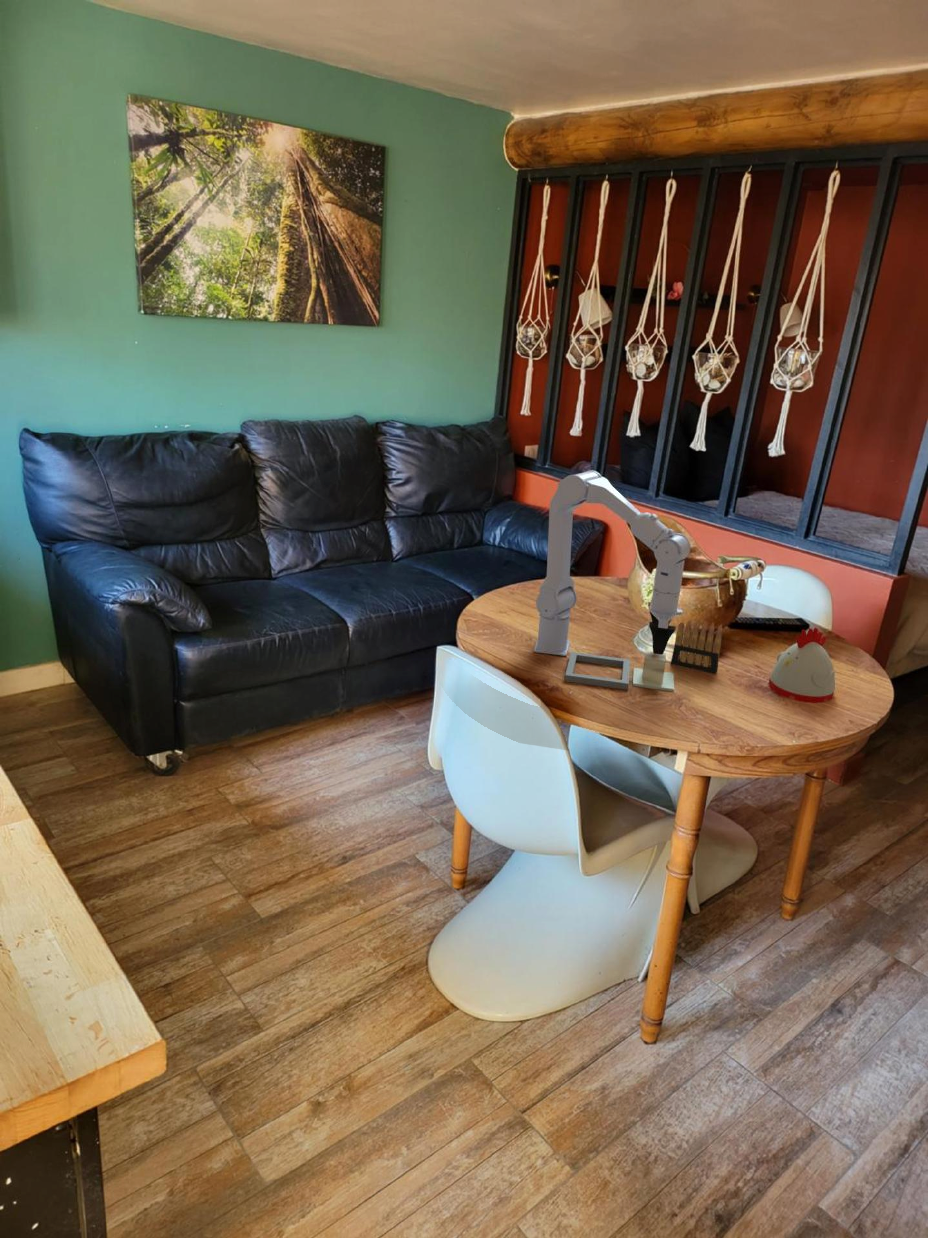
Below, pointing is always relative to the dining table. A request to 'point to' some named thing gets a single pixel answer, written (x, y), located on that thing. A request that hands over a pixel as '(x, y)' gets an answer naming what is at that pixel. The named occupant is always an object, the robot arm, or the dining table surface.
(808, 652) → the kitchen timer
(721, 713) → the dining table surface
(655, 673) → the maple block
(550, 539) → the robot arm
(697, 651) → the ammunition clip
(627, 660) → the frame
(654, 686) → the green pad
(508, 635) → the dining table surface
